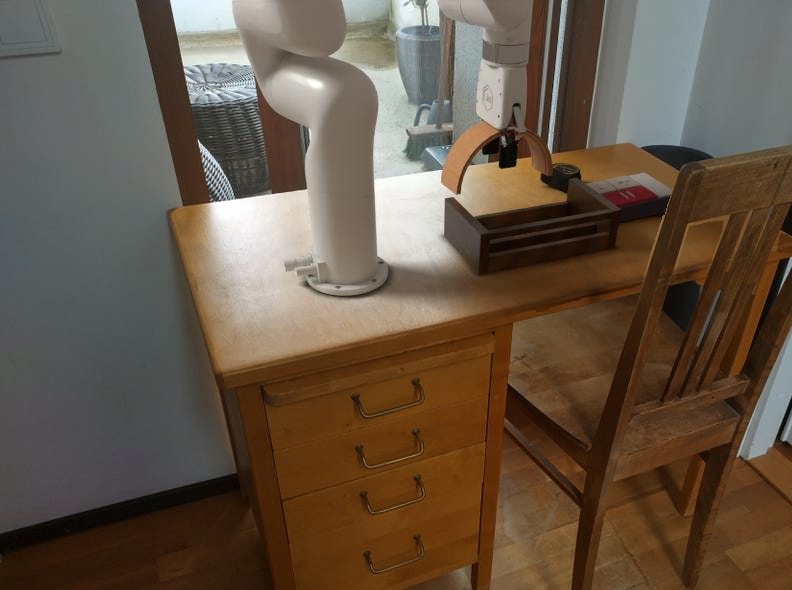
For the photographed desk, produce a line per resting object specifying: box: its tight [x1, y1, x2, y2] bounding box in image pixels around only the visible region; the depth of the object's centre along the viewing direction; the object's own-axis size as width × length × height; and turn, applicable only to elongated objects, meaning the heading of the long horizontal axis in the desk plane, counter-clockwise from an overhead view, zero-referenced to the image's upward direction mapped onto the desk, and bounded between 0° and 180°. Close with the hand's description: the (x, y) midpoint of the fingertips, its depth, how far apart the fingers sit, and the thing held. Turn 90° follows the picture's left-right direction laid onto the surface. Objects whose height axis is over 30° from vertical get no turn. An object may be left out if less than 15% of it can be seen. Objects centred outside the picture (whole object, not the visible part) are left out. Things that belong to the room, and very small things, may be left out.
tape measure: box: [540, 162, 582, 192], centre depth 140 cm, size 7×7×4 cm
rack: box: [443, 178, 621, 275], centre depth 120 cm, size 26×14×7 cm, turn 114°
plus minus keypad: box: [585, 172, 673, 223], centre depth 133 cm, size 11×4×15 cm
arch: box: [440, 120, 553, 196], centre depth 124 cm, size 6×20×10 cm, turn 119°
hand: (498, 159), depth 125 cm, fingers closed on arch, 5 cm apart
